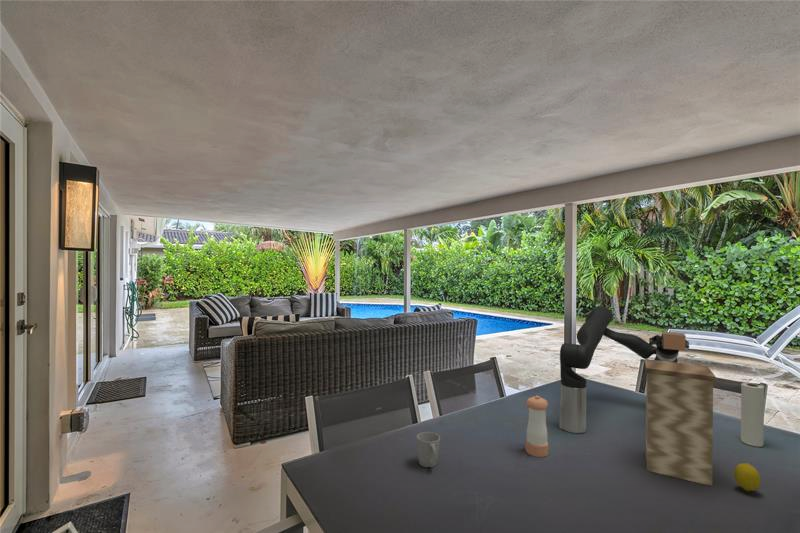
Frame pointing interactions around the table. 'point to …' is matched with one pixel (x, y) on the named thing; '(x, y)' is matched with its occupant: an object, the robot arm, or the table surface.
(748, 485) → the lemon
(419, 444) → the cup
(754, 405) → the paper towel roll
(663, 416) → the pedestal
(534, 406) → the pepper shaker
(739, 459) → the table surface
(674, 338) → the gray and brown block
